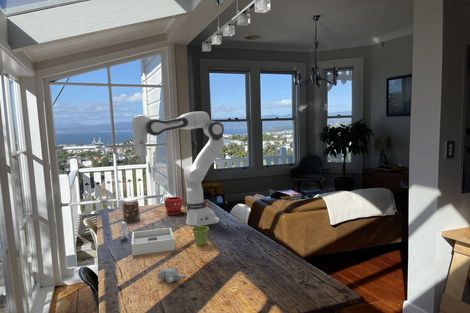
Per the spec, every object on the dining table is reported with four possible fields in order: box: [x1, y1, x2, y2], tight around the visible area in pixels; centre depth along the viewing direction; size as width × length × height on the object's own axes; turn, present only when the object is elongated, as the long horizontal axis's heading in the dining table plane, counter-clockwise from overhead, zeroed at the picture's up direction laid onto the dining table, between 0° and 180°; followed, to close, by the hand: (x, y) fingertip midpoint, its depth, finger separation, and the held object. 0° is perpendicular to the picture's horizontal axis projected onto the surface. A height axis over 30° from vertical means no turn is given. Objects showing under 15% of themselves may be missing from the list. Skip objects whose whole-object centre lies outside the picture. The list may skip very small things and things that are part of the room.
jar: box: [121, 197, 141, 223], centre depth 254 cm, size 12×12×15 cm
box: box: [131, 227, 176, 256], centre depth 197 cm, size 22×22×6 cm
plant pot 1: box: [164, 196, 183, 216], centre depth 267 cm, size 13×13×12 cm
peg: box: [120, 221, 128, 240], centre depth 212 cm, size 3×3×10 cm
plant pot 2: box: [191, 225, 210, 246], centre depth 197 cm, size 9×9×9 cm
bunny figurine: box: [157, 266, 187, 284], centre depth 152 cm, size 10×5×15 cm
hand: (141, 162), depth 225 cm, fingers open, 8 cm apart
